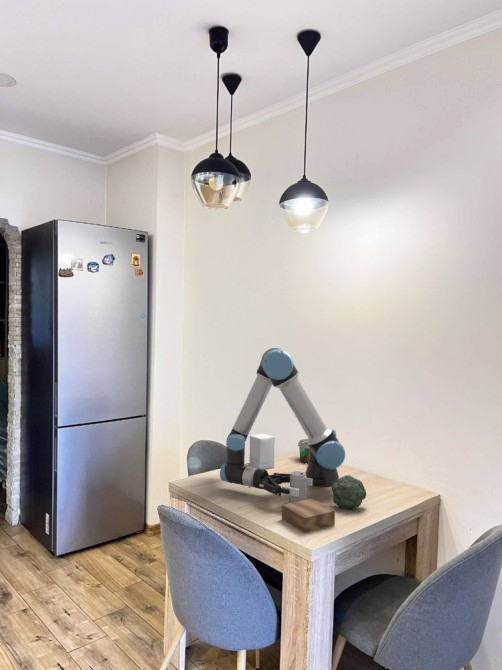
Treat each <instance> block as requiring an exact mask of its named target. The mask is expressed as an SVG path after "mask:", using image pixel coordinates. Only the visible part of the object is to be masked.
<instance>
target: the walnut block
mask: <svg viewBox="0 0 502 670" xmlns="http://www.w3.org/2000/svg"><path fill="white" fill-rule="evenodd" d="M281 520H283V521H284V522H286V523H288V524H289V525H291V526H292V527H294V528H295V529H297V530H299V531H301V532H302V533H304V534H306V533H310V532H313V531H317V530H318V531H319V530H322V529H325V527H326V528H329V527H332V526H335V525H336V524H335V523H336V511H335V509H333V508H330V506H326V505H324V504H323V503H321V502H319V501H318V500H315V499H313V498H308V499H307V498H306V500H302V501H298V502H293V503H290V502H289V503H286V504H281Z"/></svg>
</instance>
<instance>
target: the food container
mask: <svg viewBox="0 0 502 670" xmlns="http://www.w3.org/2000/svg"><path fill="white" fill-rule="evenodd" d="M307 441H308V438H303V439H299V441H298V443H297V446H298V447H299V449H298V450H299V461H300V463H302V464H305V463H307V464H306V465H308V463H309V445H308V444H307Z"/></svg>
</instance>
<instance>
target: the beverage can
mask: <svg viewBox="0 0 502 670" xmlns="http://www.w3.org/2000/svg"><path fill="white" fill-rule="evenodd" d="M305 472H306V471H305ZM305 472H304V471H299V470H295V471H292V472H290V474H291V475H290V483H289V487H291V488H297V489H299V497H296V496H291V495H289V503H293V502H298V501H302V500H307V487H308V485H307V476H306V473H305Z"/></svg>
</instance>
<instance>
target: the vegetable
mask: <svg viewBox="0 0 502 670" xmlns="http://www.w3.org/2000/svg"><path fill="white" fill-rule="evenodd" d="M331 491H332V500H333V503H334V505H336V506H338V508H339V509H351V510H353V509H354V508H359V507H360V506H361V505H362V503H363V500H366V497H367V491H366V488H365V486H364V484H363V482H362V481H361V480H360V479H358V478H356V477H354V476H351V475H350V474H347V475H344V476H342V477H339V480H338V481H337V482H336V483H334V484H333V486H331Z"/></svg>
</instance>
